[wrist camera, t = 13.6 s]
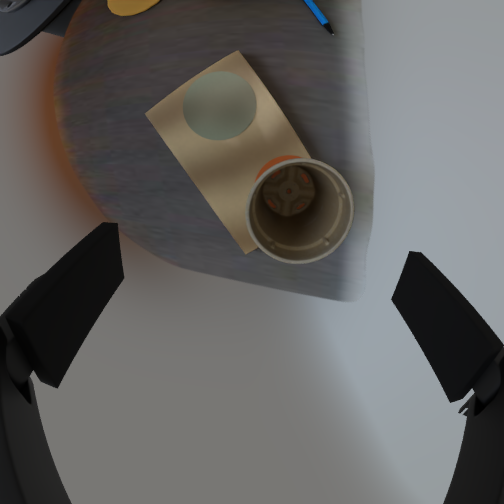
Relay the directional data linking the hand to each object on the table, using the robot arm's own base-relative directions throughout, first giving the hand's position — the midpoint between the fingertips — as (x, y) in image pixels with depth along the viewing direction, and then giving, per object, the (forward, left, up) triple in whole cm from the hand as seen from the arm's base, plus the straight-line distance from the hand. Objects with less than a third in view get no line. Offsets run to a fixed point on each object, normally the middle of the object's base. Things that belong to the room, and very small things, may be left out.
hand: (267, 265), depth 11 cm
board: (-3, 0, -22) cm, 22 cm away
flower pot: (+3, +2, -21) cm, 21 cm away
